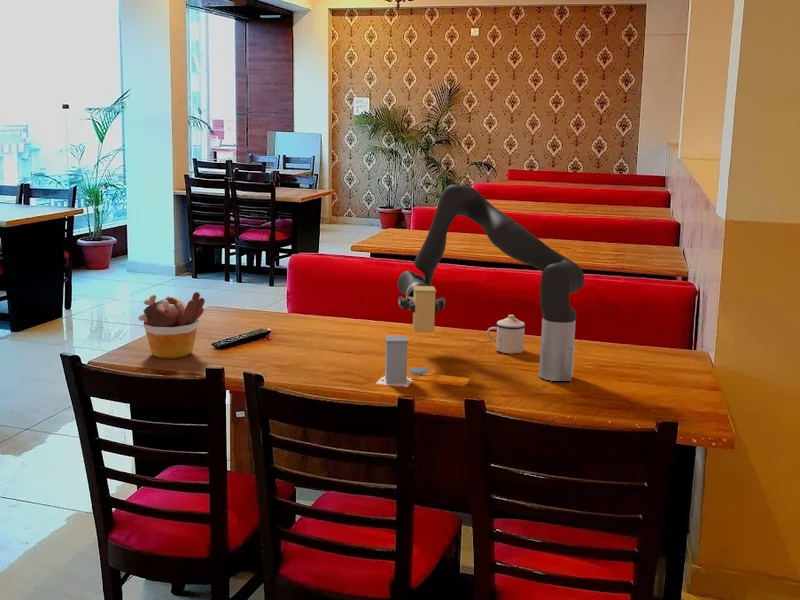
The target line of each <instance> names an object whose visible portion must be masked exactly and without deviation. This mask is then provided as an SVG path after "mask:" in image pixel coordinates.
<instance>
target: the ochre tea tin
mask: <svg viewBox="0 0 800 600" xmlns="http://www.w3.org/2000/svg"><path fill="white" fill-rule="evenodd" d="M413 289H414V303H415V313H413V312H412V329H413V332H414V333H426V334H427V333H435V320H436V319H435V298H436V294H437V289H436V288H435V286H433V285H431V286H413Z"/></svg>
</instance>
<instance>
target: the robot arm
mask: <svg viewBox="0 0 800 600" xmlns="http://www.w3.org/2000/svg"><path fill="white" fill-rule="evenodd" d="M457 216H462V217H466V218H468V219H470V220H471V221H473V222H475V223H476V224H478V225H479V226H480V227H481V228H482V229H483V230H484V232H485V234H486V236H487V238H488V240H489V241H490V243H492V244H493V245H494V246H495V248H497V249H499V250H500V251H501V252H503V254H505V255H507V256H508V257H510V258H511V259H514V260H516V261H518V262H521V263H523V264H526V265H528V266H531V267H534V268H536V269H537V270H540V271H541V277H540V282H539V283H540V285H539V287H540V288H539V290H540V292H539V295H540V296H539V297H540V298H539V302H540V303H539V304H540V308H541V313H542V319H541V333H540V336H541V337H540V351H539V352H540V353H539V368H538V371H539V372H538V376H540V377H541V378H543V379H546V380H552V381H571V382H572V380H571V379H573V376H572V375H573V373H574V359H575V358H574V357H575V338H576V337H575V334H576V322H577V321H576V320H577V311H576V309H575V308H573V307H572V306H571V304H570V295H571V294H574V293H576V292H579V291H580V290H581V289H582V288H583V287H584V284H585V275H584V272H583V269H582V268H581V267H580V266H579V264H577V263H576V262H574V261H573V260H571V259H569V258H568V257H566V256H564V255H562V254H560V253H559V252H557V251H556V250H555V249H552V247H550V246H548V244H546V243H544V241H542V240H541V239H539V238H538V237H537V236H535V235H534V234H533V233H532V232H530V231H528V229H526V228H525V227H524V226H522V225H521V224H519V223H518V222H517V221H516V220H514V219H513V218H511V217H509V216H508V214H505V213H504V212H502V211H501V210H499V209H497V207H495V206H494V205H493V204H491V203H490V202H489V201H488V200H487V198H485V197H484V196H483V195H482V194H481V193H480V192H479V191H478V190H477V189H476V188H474V187H472V186H470V185H463V184H450V185H448V186H447V187H445V188H444V190H443V191H442V194H441V195H440V199H439V201H438V204H437V207H436V210H435V213H434V216H433V219H432V222H431V225H430V227H429V231H428V233H427V236H426V237H425V240H424V242H423V244H422V246H421V248H420V249H419V252H418V254H417V255H416V257H415V259H414V262H413V264H414V266H415V268H416V269H417V270H418V271H419V272H421V273H422V274H423V275H424V276H423V275H421V274H418V273H416V272H413V271H411V270H406V271H403V272H402V273H401V274H400V276H398V279H397V288H398V290H399V292H401V294H403V295H404V296H406V297H403V296H398V298H397V299H398V303H397V305H398V307H399V308H401V310H403V311H404V310H405V311H406V310H407V309H408V310H409V311H410V312H412V314H413V313H415V303H414V289H413V286H432V281H433V278H434V277H433V276H434V274H435V271H436V269H437V267H438V265H439V263H440V261H441V259H442V257H443V255H444V253H445V251H446V245H447V235H448V231H449V228H450V226H451V224H452V223H453V221H454V220H455V218H456V217H457ZM445 299H446V297H444V296H441V297H439V298H438V299H437V298H436V297H435V313H436V314H437V313H438V312H439V311H443V310H444V309H445V305H446V300H445ZM540 377H539V378H540ZM541 378H540V379H541ZM543 379H542V380H543ZM546 380H545V381H546ZM552 381H551V382H552Z"/></svg>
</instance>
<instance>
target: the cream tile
mask: <svg viewBox="0 0 800 600" xmlns="http://www.w3.org/2000/svg"><path fill="white" fill-rule="evenodd" d="M383 376H384V375H383ZM383 376H381V378H379V379H378V380H377V381H376V383H375V385H382V386H383V385H384V386H393V387H401V386H403V387H402V388H408V387H409V386H410V384H412V382H413V381H414V380H411V379H412V378H408V377H409V376H407V380H406V384H386V379H385V376H384V377H383ZM382 380H384V381H382ZM407 381H410V382H407Z"/></svg>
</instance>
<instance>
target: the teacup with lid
mask: <svg viewBox="0 0 800 600" xmlns="http://www.w3.org/2000/svg"><path fill="white" fill-rule="evenodd" d="M525 328H526V323H525V322H524V321H521V320H519V319H518V318H516V317H515V315H514V314H508V315H507V317H505V318H504V319H500V320H498V321H497V322H496V326H492V327H488V329H487V330H486V337H487V339H488V340H489V341H490V342H491V343H493V344H496V345H495V350H496V352H498V351H500V352H504V353H519V354H521V352H522V353H523V352H524V343H525ZM492 330H495V331H496V339H493V338H492V337H491V335H490V331H492ZM500 352H499V353H500ZM504 353H503V354H504Z"/></svg>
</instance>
